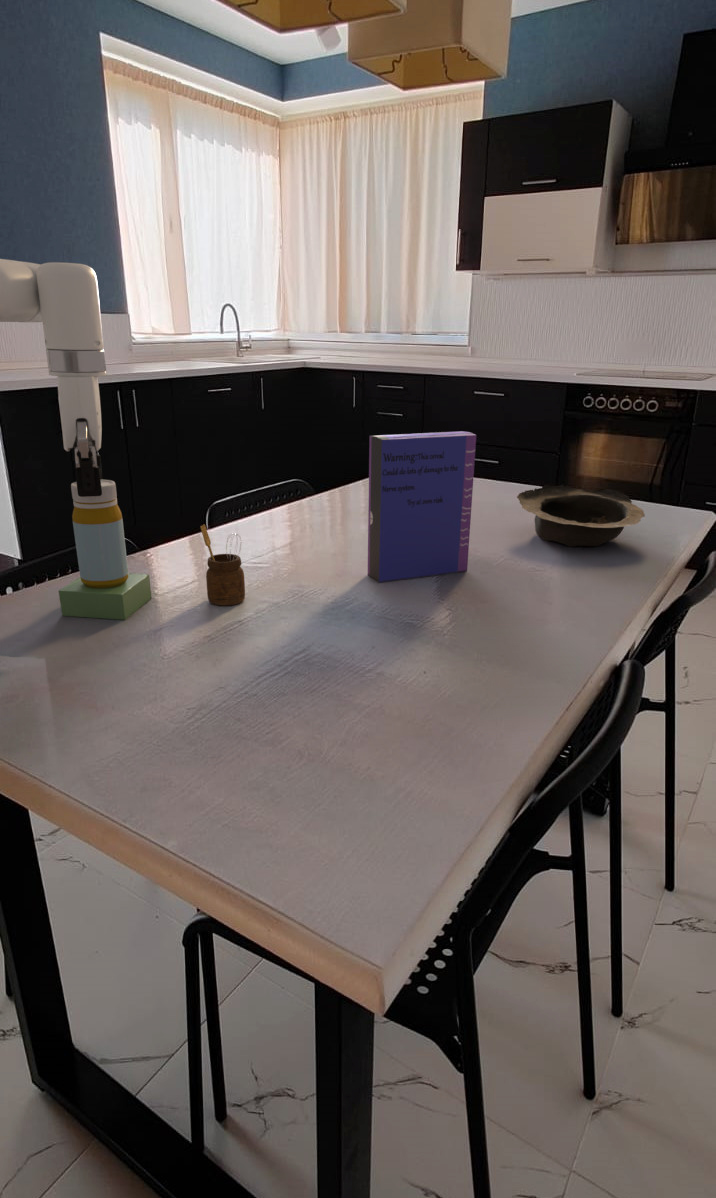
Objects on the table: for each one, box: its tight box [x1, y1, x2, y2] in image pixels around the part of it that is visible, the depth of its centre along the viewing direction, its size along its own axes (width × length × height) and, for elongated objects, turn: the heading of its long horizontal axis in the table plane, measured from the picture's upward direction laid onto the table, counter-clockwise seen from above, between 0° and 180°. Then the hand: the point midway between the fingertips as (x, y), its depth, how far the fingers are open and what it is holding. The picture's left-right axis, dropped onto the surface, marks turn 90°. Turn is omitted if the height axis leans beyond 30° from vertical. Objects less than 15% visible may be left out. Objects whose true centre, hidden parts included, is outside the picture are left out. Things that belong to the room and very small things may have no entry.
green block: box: [58, 572, 152, 621], centre depth 118 cm, size 10×10×4 cm
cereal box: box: [367, 430, 477, 584], centre depth 132 cm, size 17×5×24 cm, turn 113°
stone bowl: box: [516, 483, 646, 548], centre depth 158 cm, size 25×25×9 cm
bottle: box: [70, 479, 129, 588], centre depth 115 cm, size 7×7×15 cm
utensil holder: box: [199, 524, 246, 607], centre depth 120 cm, size 6×6×12 cm
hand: (91, 489), depth 112 cm, fingers open, 9 cm apart
